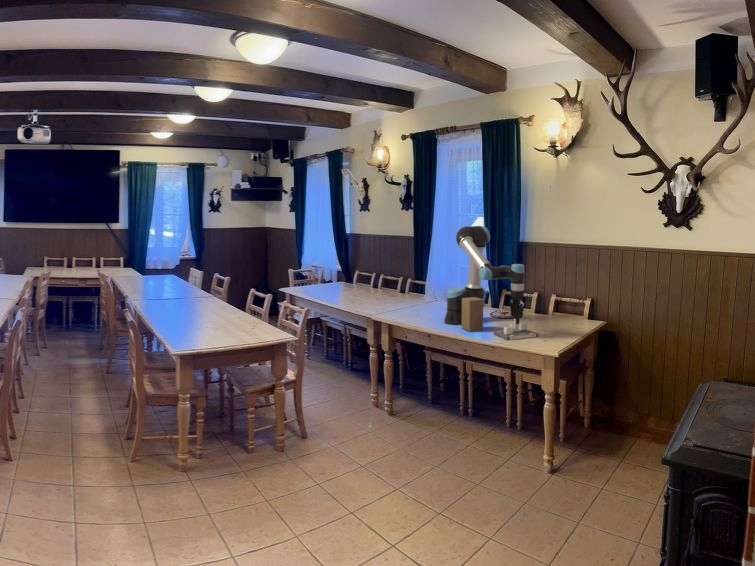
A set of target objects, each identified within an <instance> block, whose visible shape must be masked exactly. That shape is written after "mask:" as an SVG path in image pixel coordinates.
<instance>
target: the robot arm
mask: <svg viewBox="0 0 755 566" xmlns="http://www.w3.org/2000/svg"><path fill="white" fill-rule="evenodd" d="M455 240H456V244H457V245H458V247H459V248H460V249H462V250H463V251H464V252H465V253H466V255H467V256H468V257H469V261H468V274H467V275H468V277H467V284H465V285H464V286H465V287H464V286H463V287H462V286H459V287H457V286H456V287H452V288H449V289H447V292H446V313H445V316H444V319H443V321H444V322H443V323H444V324H447V325H453V326H454V325H455V326H460V325H461V326H462V298H470V297H477V298H480V299H483V303H484V302H485V300H486V297H487V296H486V295H487V293H486V290H485V289H484V287H483V285H482V284H481V283H482V281H491V280H492V281H493V280H505V279H507V280H508V279H509V280H510V297H511V299H509V300H508V303H509V308H510V316H511V317H512V318H513V324H514V329H519V323H520V319H522V318H523V313H524V309H525V305H526V303H525V302H523V298H524V295H525V291H524V290H525V265H524V264H522V263H513V264H511V266H509V265H500V266H493V265H492V264H491V262H489V260H488V258H486V257H485V255H484V254H483V253H484V249H485V248H487V244H489V242H490V240H491V233H490V230H489V229H488V228H487V227H486V226H483V225H472V226H462V227H461V228H459V230H458V231H457V232H456V235H455Z"/></svg>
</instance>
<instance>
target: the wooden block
mask: <svg viewBox="0 0 755 566" xmlns="http://www.w3.org/2000/svg"><path fill="white" fill-rule="evenodd" d="M461 329H462V330H465V332H469V333H472V332H481V331H483V330H484V302H483V299H480V298H477V297H470V298H462V325H461Z"/></svg>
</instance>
